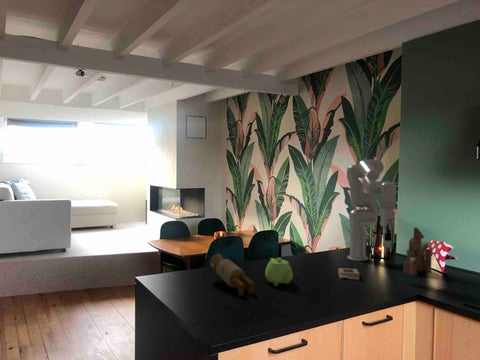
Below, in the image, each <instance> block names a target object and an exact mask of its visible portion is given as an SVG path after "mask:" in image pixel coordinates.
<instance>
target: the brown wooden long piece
mask: <svg viewBox="0 0 480 360" xmlns="http://www.w3.org/2000/svg"><path fill="white" fill-rule="evenodd" d="M209 266H210V267H211V268H212V269H215V272H216V274H217V276H218V277H219V278H220V279H221V283H222V284H223V285H228V287H231V288H237V290H238V295H237V296H239V297H242V296H244V295H245V294H244V292H245V286H247V288H248V295H252V294H254V292H255V290H254V289H255V282H254V281H253V280H251V279H250V278H249V277H248V276H247V275H246V274H245V272H244V269H242V268H241V267H239V266H238V265H237V264H235V263H234V262H233V261H231V260H230V259H228V258H224V257H223V256H222V254H220V253H217V254H214V255H213V256H211V258H210V261H209Z"/></svg>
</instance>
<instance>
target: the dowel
mask: <svg viewBox="0 0 480 360" xmlns="http://www.w3.org/2000/svg"><path fill="white" fill-rule="evenodd" d="M387 227H389V226H387ZM387 229H388V228H387ZM385 233H386V227H383V226H382V247H384V248H391V247H392V246H391V244H392V243H391V241H392V240H391V241H385Z"/></svg>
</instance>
